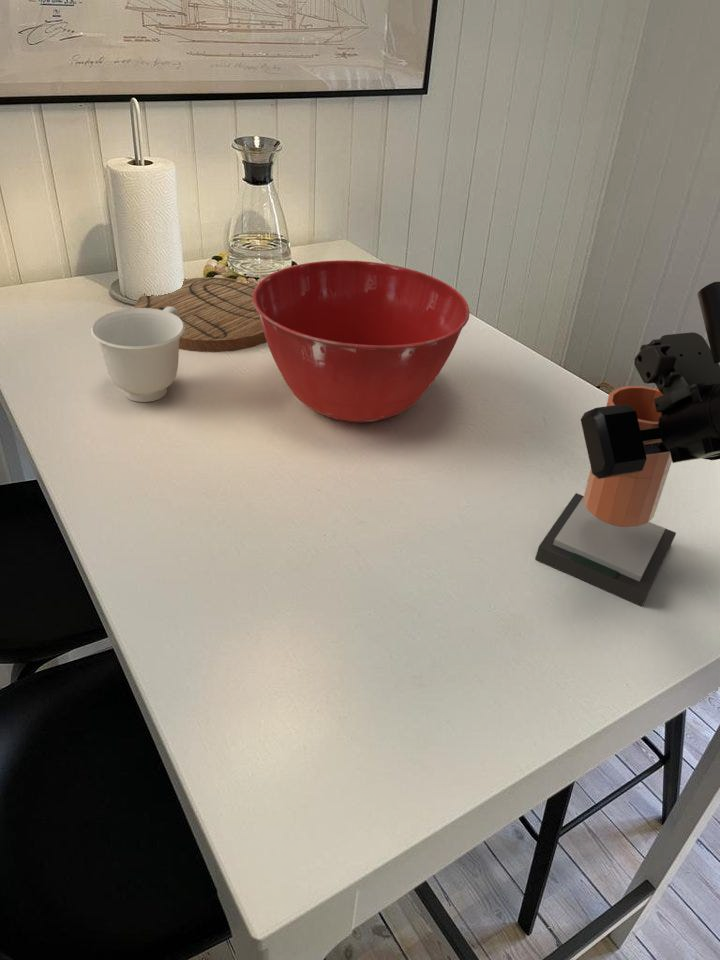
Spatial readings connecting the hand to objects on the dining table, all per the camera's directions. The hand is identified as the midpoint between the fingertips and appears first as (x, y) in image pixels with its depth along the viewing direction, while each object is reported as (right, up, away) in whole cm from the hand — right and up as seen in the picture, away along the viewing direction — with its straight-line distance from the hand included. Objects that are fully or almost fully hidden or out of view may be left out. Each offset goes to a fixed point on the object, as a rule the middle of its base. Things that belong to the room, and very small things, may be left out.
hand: (624, 449), depth 78 cm
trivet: (-52, +24, +49) cm, 75 cm away
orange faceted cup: (0, -6, +3) cm, 7 cm away
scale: (0, -11, +7) cm, 13 cm away
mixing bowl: (-28, +9, +31) cm, 42 cm away
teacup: (-57, +10, +29) cm, 65 cm away
